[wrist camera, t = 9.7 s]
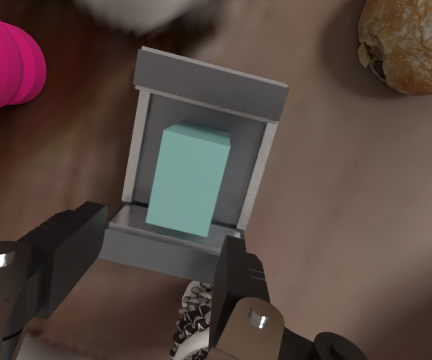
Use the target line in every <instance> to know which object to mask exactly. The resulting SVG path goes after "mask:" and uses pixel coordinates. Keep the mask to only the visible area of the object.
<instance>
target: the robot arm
mask: <svg viewBox="0 0 432 360" xmlns="http://www.w3.org/2000/svg"><path fill="white" fill-rule="evenodd" d="M107 215H108V206H106V205H102V204H98V203H94V202H90V201H87V202H85V203H84V204H83V205H81V206H80V207H78V208H77V209H76V210H74V211H73V210H67V211H64V212H60V213H57V214H55V215H54V216H52V217H51V218H49V219H48V220H47V221H45V222H44V223H42V224H41V225H40V226H39V227H36V228H35V229H33V230H32V231H30V232H29V233H28V234H26V235H25V236H23V237H22V238H20V239H19V240H17V241H0V360H16V358H17V355H18V353H19V350H20V347H21V344H22V342H23V339H24V337H25V334H26V325H27V323H28V322H29V321H30V320H31V319H32V317H33V316H34V317H38V318H43V319H47V320H48V318H49V317H50V316H51V315H52V313H53V312H54V311H55V310H56V308H57V307H58V306H59V305H60V303H61V302H62V301H63V300H64V298H65V297H66V296H67V295H68V293H69V292H70V291H71V290H72V288H73V287H74V286H75V285H76V283H77V282H78V281H79V280H80V278H81V277H82V276H83V275H84V274H85V272H86V271H87V270H88V269H89V267H90V266H91V265H92V264H93V262H94V261H95V260H96V259H97V257H98V255H99V254H100V251H101V249H102V245H103V241H104V235H105V228H106V222H107ZM205 360H368V359H367V357H366V356H365V355H364V353H363V352H362V351H361V350H360V349H359V348H358V347H357V346H356V345H355V344H353V343H352V342H351V341H349V340H348V339H346V338H344V337H342V336H340V335H338V334H335V333H331V332H322V333H319V334H317V336H316V337H315V339H314V342H312V341H310V340H308V339H306V338H304V337H301V336H299V335H297V334H295V333H294V332H292V331H290V330H289V329H287V328H286V327H285V326H284V319H283V316H282V314H281V313H280V312H279V310H278V309H277V308H276V307H274V306H273V305H272V304H271V303H270V298H269V293H268V289H267V284H266V281H265V275H264V270H263V266H262V263H261V261H260V260H259V259H258V258H257V256H256V255H255V254H251V253H246V246H245V240H244V239H241V238H237V237H233V236H229V235H226V236H225V239H224V242H223V245H222V249H221V253H220V256H219V260H218V263H217V267H216V270H215V274H214V279H213V287H212V301H211V315H210V329H209V343H208V355H207V357H206V359H205Z"/></svg>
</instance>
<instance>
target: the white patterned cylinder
mask: <svg viewBox="0 0 432 360" xmlns="http://www.w3.org/2000/svg"><path fill="white" fill-rule="evenodd" d="M212 287H213V285H210V284H206V283H202V282H197V281H192V282H191V283H190V284H189V285H188V287H187V289H186V291H185V293H184V295H183V298H182V308H180V309H179V313H180V314H181V315H183V317H185V318H183V319H178V320H177V321H176V325H177V326H178V327H177V330H178V333H175V334H174V336H173V341H174V345H175V347H173V348H172V349H171V350H170V358H171V360H205V359H206V357H207V355H208V343H209V329H210V315H211V301H212Z"/></svg>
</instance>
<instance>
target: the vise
mask: <svg viewBox="0 0 432 360" xmlns="http://www.w3.org/2000/svg"><path fill="white" fill-rule="evenodd" d="M180 121H184V122H188V123H192V124H196V125H200V126H204V127H208V128H212V129H216V130H220V131H224V132H228V133H229V137H230V150H229V154H228V158H227V162H226V166H225V170H224V173H223V177H222V181H221V185H220V189H219V193H218V196H217V200H216V204H215V208H214V212H213V216H212V219H211V223H210V227H209V231H208V235H207V237H204V236H200V235H196V234H191V233H187V232H183V231H179V230H175V229H170V228H166V227H162V226H158V225H153V224H149V223H146V218H147V213H148V208H149V203H150V197H151V192H152V187H153V182H154V177H155V172H156V166H157V161H158V156H159V151H160V146H161V141H162V135H163V130H165V129H167V128H168V127H170V126H172V125H174V124H176V123H178V122H180ZM277 125H278V121H277V123H276V125H274V124H270V123H267V122H263V121H259V120H255V119H251V118H247V117H243V116H239V115H235V114H231V113H228V112H224V111H220V110H216V109H212V108H208V107H204V106H200V105H196V104H193V103H189V102H185V101H181V100H177V99H173V98H169V97H165V96H161V95H157V94H154V93H150V92H146V91H142V90H140V93H139V99H138V105H137V111H136V117H135V123H134V129H133V135H132V141H131V147H130V153H129V159H128V165H127V170H126V176H125V182H124V188H123V194H122V201H123V204H122V205H121V206H120V207H119V208H118V209H117V210H116V211H115V212H114V213H113V214H112V215H111V216H110V217H109V218H108V219H107V222H106V228H105V235H104V241H103V245H102V249H101V251H100V254H99V255H98V257H97V258H100V259H104V260H108V261H112V262H117V263H121V264H125V265H129V266H134V267H138V268H142V269H146V270H151V271H155V272H159V273H163V274H168V275H172V276H176V277H180V278H185V279H189V280H193V281H197V282H202V283H206V284H210V285H213V279H214V274H215V270H216V267H217V263H218V260H219V256H220V253H221V249H222V245H223V242H224V239H225V236H226V235H229V236H233V237H237V238H241V239H244V240H245V238H244V230H246V228H247V224H248V221H249V218H250V215H251V211H252V208H253V205H254V201H255V198H256V195H257V191H258V188H259V185H260V182H261V178H262V175H263V172H264V168H265V165H266V162H267V158H268V155H269V152H270V149H271V145H272V142H273V139H274V135H275V132H276V129H277Z"/></svg>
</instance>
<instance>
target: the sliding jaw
mask: <svg viewBox="0 0 432 360" xmlns="http://www.w3.org/2000/svg"><path fill="white" fill-rule="evenodd" d="M133 84H134V85H136V86H135V89H138V90H142V91H146V92H150V93H154V94H157V95H161V96H165V97H169V98H173V99H177V100H181V101H185V102H189V103H193V104H196V105H200V106H204V107H208V108H212V109H216V110H220V111H224V112H228V113H231V114H235V115H239V116H243V117H247V118H251V119H255V120H259V121H263V122H267V123H270V124H274V125H276V123H277V121H278V122H279V119H280V116H281V112H282V109H283V106H284V103H285V99H286V96H287V93H288V89H289V88H287V86H288V84H286V83H282V82H278V81H274V80H270V79H266V78H263V77H259V76H255V75H251V74H247V73H244V72H240V71H236V70H232V69H228V68H225V67H221V66H217V65H213V64H209V63H205V62H202V61H198V60H194V59H190V58H186V57H183V56H179V55H175V54H171V53H167V52H163V51H160V50H156V49H152V48H148V47H144V46H142V50H141V49H138V55H137V61H136V67H135V74H134V80H133Z"/></svg>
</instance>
